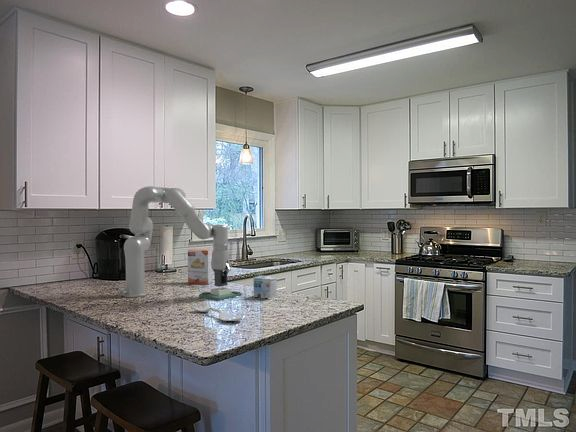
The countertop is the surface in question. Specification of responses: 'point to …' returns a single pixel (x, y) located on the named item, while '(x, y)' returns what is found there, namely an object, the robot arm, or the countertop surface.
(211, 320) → the countertop surface
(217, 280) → the plug
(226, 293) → the board
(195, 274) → the cracker box
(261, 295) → the light bulb box
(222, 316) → the spoon
